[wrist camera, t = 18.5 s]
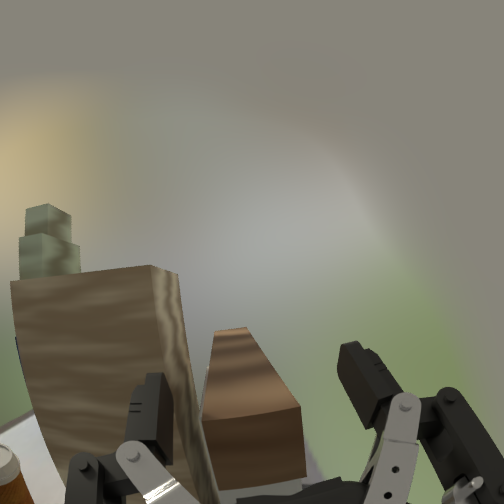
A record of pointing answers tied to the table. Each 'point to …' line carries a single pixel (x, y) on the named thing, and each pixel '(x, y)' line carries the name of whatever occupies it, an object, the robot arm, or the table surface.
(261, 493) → the grey rectangular block
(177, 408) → the birch rack
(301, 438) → the walnut block
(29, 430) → the table surface
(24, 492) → the disposable coffee cup
